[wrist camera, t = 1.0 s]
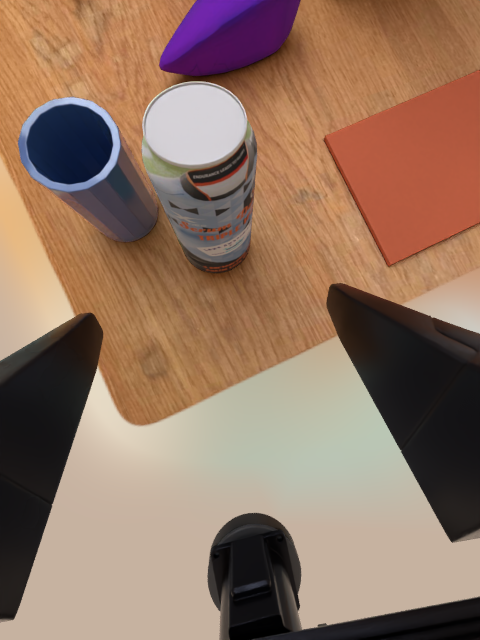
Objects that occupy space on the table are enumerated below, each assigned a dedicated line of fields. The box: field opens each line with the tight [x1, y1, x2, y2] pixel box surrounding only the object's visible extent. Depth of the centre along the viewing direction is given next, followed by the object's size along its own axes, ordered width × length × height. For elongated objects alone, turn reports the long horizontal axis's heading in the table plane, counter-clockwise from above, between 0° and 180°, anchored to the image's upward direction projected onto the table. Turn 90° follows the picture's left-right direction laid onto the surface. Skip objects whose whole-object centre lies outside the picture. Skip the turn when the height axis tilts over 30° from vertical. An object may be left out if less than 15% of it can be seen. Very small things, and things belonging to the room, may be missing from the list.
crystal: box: [159, 0, 300, 76], centre depth 22 cm, size 5×5×15 cm
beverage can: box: [142, 81, 257, 273], centre depth 17 cm, size 6×7×12 cm
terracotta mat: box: [324, 70, 480, 266], centre depth 24 cm, size 22×14×1 cm, turn 115°
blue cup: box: [18, 97, 158, 242], centre depth 19 cm, size 6×6×8 cm
